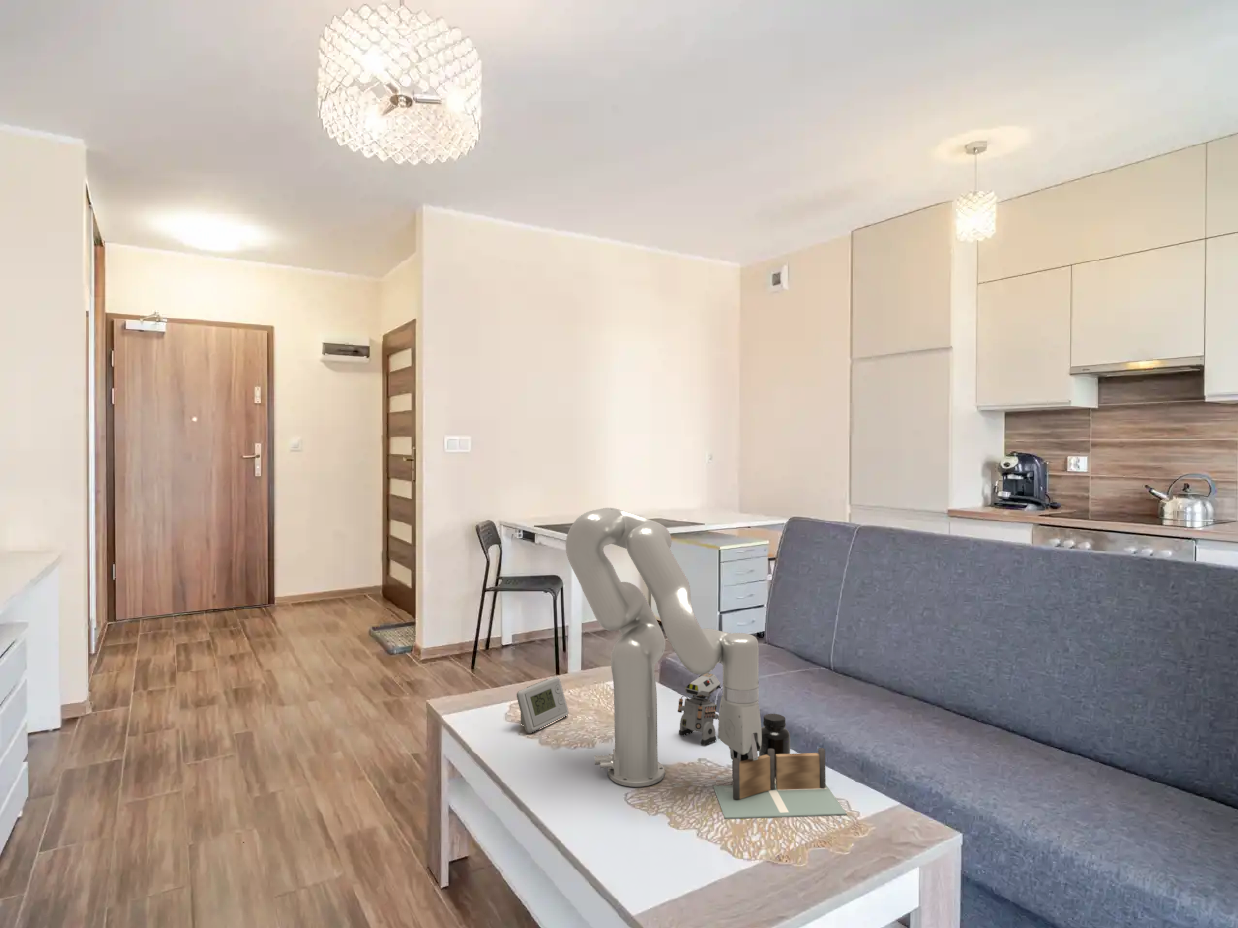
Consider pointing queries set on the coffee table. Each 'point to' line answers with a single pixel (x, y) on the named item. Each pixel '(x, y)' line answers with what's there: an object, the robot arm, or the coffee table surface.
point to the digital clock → (542, 704)
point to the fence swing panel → (753, 775)
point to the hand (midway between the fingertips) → (740, 779)
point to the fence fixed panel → (801, 770)
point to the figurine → (699, 708)
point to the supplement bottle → (775, 735)
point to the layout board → (779, 803)
